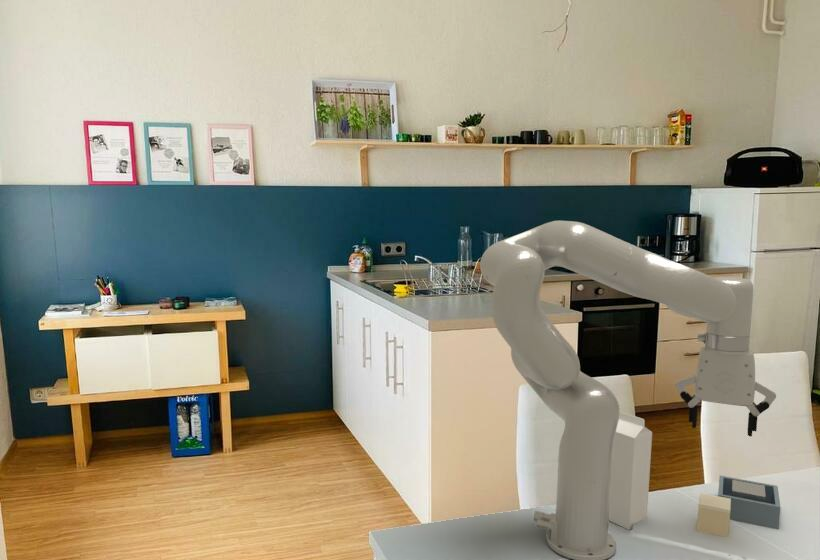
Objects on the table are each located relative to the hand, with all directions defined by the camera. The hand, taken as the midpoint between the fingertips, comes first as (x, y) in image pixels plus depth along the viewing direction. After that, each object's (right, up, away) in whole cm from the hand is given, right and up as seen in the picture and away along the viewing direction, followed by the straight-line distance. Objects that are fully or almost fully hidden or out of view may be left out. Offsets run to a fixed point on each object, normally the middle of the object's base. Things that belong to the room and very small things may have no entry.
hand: (721, 430), depth 125 cm
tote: (+10, -20, +10) cm, 24 cm away
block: (+10, -19, +9) cm, 23 cm away
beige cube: (-1, -21, +2) cm, 21 cm away
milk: (-16, -20, +7) cm, 27 cm away
